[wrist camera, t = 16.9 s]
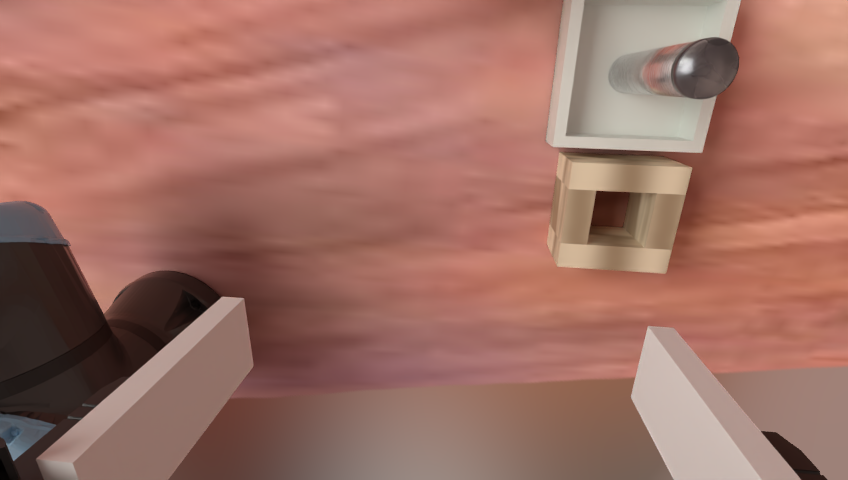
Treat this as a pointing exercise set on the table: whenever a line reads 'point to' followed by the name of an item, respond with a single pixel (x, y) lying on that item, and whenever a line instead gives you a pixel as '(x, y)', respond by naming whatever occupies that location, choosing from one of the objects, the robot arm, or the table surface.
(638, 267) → the hollow square frame
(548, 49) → the table surface
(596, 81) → the tray
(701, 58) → the glass vial with cap
